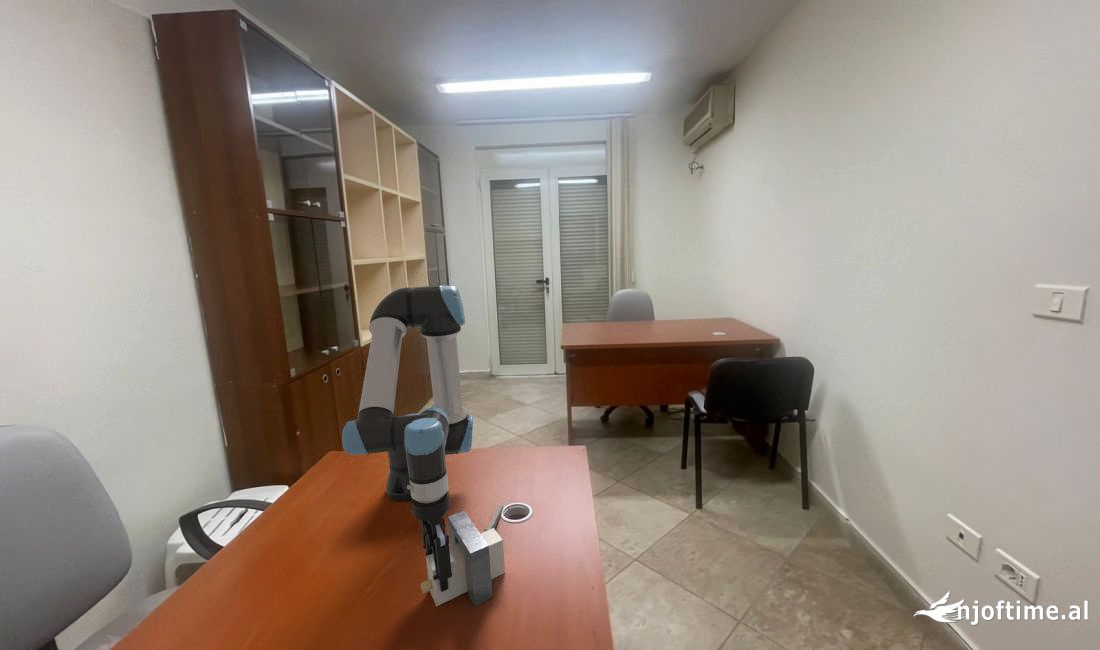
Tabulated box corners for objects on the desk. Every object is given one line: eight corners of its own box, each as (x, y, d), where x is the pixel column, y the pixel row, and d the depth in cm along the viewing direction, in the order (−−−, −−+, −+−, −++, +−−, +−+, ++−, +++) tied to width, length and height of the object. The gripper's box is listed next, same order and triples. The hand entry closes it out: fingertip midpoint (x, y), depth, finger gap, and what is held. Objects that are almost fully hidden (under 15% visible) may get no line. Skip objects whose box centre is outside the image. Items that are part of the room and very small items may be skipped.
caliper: (487, 558, 99) (485, 535, 98) (483, 558, 99) (481, 535, 98) (503, 507, 119) (502, 487, 118) (500, 507, 119) (498, 487, 118)
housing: (452, 564, 98) (447, 516, 95) (468, 557, 100) (464, 510, 97) (474, 606, 85) (470, 553, 83) (492, 597, 87) (488, 545, 85)
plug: (420, 594, 89) (416, 560, 88) (496, 559, 98) (493, 527, 97) (426, 611, 85) (422, 575, 83) (505, 572, 94) (502, 539, 93)
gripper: (401, 480, 90) (412, 572, 94) (423, 523, 75) (435, 631, 79) (435, 469, 94) (444, 559, 98) (462, 508, 79) (471, 612, 83)
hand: (440, 591), depth 89 cm, fingers closed on plug, 5 cm apart
